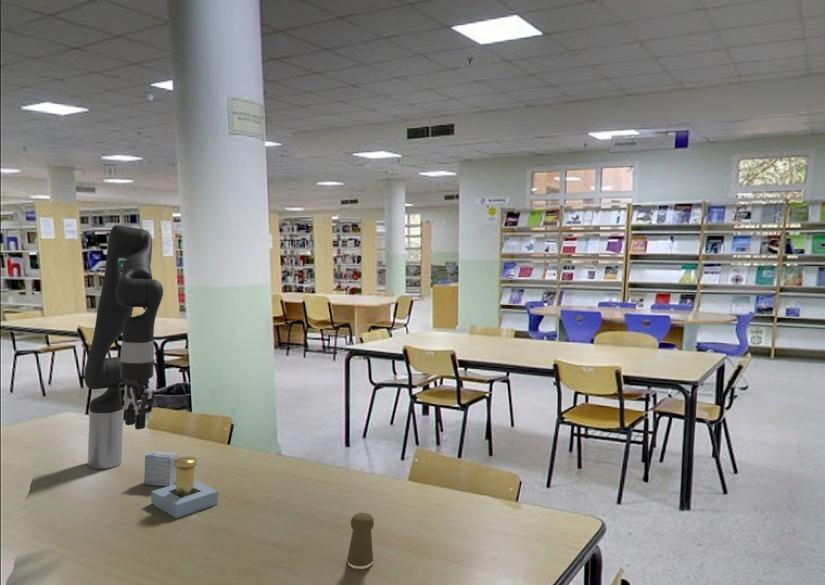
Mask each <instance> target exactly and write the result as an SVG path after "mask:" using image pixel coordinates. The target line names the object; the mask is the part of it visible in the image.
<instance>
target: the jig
mask: <svg viewBox="0 0 825 585" xmlns="http://www.w3.org/2000/svg"><path fill="white" fill-rule="evenodd" d="M175 488H176V483H174V484H173V485H171V486H163V487H162V488H158V489H154V490H152V491H151V497H150V498H151V501H150V504H151V503H152V504H154V505H155V506H157V507H159V508H160V509H159V508H158V509H159V510H161V509H162V510H161V511H162V512H164V511H165V512H164V513H166V512H167V513H166V514H168V515H169V516H172V517H174V519H175V518H176V519H179V518H181V517H185V516H186V515H187V516H188V515H190V514H192V513H196V512H198V511H201V510H204V509H207V508H210V507H213V506H215V505H218V500H219V491H218V490H217V489H214V488H212V487H211V486H208V485H206V484H204V483H202V482H199V480H195V479H194V494H192V495H188V496H185V497H182V498H180V497H179V496H177V495H175ZM152 504H151V505H152ZM154 505H153V506H154ZM155 506H154V507H155ZM157 507H156V508H157Z"/></svg>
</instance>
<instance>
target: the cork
mask: <svg viewBox="0 0 825 585" xmlns="http://www.w3.org/2000/svg"><path fill="white" fill-rule="evenodd" d="M351 517H352V518H351V519H350V520H351V521H350V526H351V529H352V531H351V532H352V534H351V538H350V543H349V549H348V554H347V559H346V561H347V560H348V562H349V563H350V564H352V565H355V566H365V565H368V564H370V563H371V562H372V561H373V562H374V554H373V553H374V552H373V540H372V530H373V527H374V525H375V521H374V520H375V519H374V517H373V516H372V515H371V514H369V513H368V512H357V513H355V514H354V515H353V516H351Z"/></svg>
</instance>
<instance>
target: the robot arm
mask: <svg viewBox="0 0 825 585" xmlns="http://www.w3.org/2000/svg"><path fill="white" fill-rule="evenodd" d="M107 241H108V243H107V252H106V258H105V269H104V276H103V281H102V282H103V283H102V287H101V292H100V296H99V299H98V300H99V301H98V305H97V311H96V317H95V318H96V319H95V325H94V326H95V327H94V331H93V336H92V339H91V340H92V342H91V344H90V349H89V351H88V356H87V359H86V363H85V367H84V375H83V376H84V377H83V379H84V384H85V386H86V388H87V389H90V390H103V389H106V391H105V392H103V393H102V394H100V395H99V396H97V397H95V398H93V399H91V401H90V402H89V414H88V421H89V422H88V445H87V446H88V447H87V467H88V468H90V469H95V470H104V469H111V468H116V467H117V466H119V465H121V464H122V459H123V458H122V455H123V454H122V453H123V429H124V428H123V427H124V425H126V426H132V425H134V429H135V430H143V429H145V428H146V415H147V413H148V414H149V413H151V412H152V411H153V405H154V402H155V401H154V400H155V396H156V390H154V389H152V390H150V389H149V388H150V385H149V380H150V379H152V378H153V377H154V371H155V370H154V369H155V368H154V366H155V364H154V363H155V362H154V361H155V343H154V337H155V336H154V334H155V322H156V318H157V314H158V311H159V308H160V306H161V303H162V299H163V296H164V287H163V285H162V283H161V282H160V281H159V280H157V279H154V278H153V274H152V268H151V263H152V253H153V237H152V234H151V233H150V231H148V230H146V229H144V228H138V227H132V226H126V225H120V224H118V225H113V226H112V228H111V229H110V232H109V236H108V240H107ZM119 259H125V260H124V261H123V263H122V266H121V268H120V265H119V264H120V263H119ZM134 308H146V309H145V311H144V312H143V313H141V314H138V315H133V310H134ZM132 315H133V316H132ZM121 335H122V337H121ZM120 337H121V338H122V339H121V348H120V356H114V357H113V356H111V357H107V355H108V352H109V350H110V348H111V347H112V345H113V344H114V343H115V342H116V340H118V339H119V338H120ZM124 411H125V414H124ZM124 416H125V417H124ZM124 418H125V421H124ZM123 423H124V424H123Z"/></svg>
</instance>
